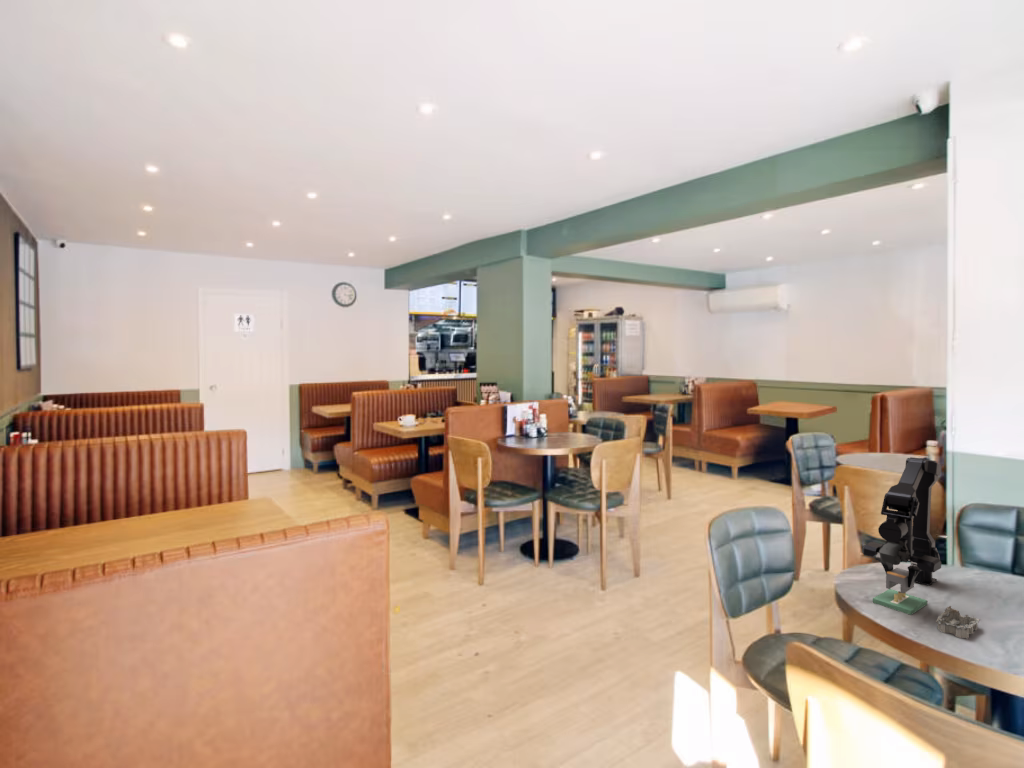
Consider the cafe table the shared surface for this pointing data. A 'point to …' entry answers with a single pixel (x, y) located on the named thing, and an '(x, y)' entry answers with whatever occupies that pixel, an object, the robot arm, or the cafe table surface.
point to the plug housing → (898, 579)
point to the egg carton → (956, 623)
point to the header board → (900, 601)
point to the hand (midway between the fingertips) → (900, 584)
